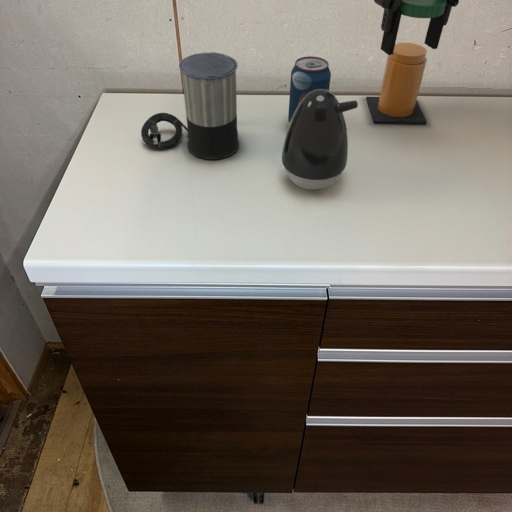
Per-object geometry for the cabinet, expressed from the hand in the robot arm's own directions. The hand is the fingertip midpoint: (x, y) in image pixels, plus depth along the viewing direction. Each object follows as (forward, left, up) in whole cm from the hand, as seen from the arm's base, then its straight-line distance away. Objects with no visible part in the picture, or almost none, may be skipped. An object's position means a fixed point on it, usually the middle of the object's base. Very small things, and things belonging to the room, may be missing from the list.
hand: (408, 48), depth 78 cm
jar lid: (0, 0, +7) cm, 7 cm away
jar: (-4, -6, -14) cm, 16 cm away
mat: (-4, -5, -15) cm, 16 cm away
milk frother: (+37, -7, -15) cm, 40 cm away
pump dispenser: (+21, +10, -15) cm, 27 cm away
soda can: (+15, -6, -15) cm, 22 cm away
